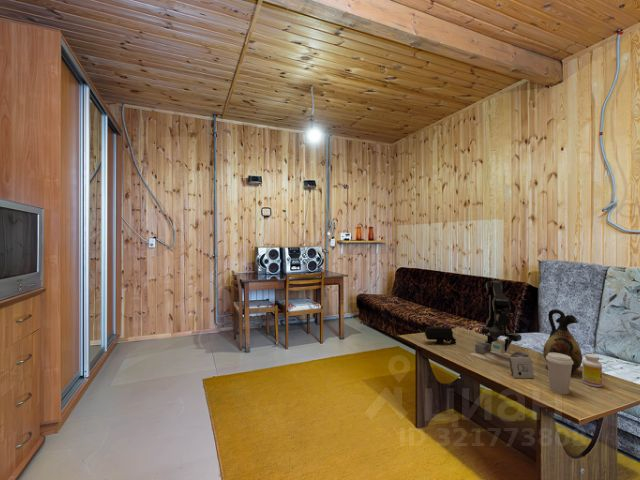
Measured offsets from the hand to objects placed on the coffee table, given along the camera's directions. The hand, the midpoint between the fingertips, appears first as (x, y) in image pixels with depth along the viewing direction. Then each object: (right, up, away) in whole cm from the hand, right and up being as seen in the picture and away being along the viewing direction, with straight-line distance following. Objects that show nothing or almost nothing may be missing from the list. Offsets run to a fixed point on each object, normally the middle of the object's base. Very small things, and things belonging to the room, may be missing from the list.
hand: (500, 349), depth 169 cm
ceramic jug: (+22, -5, -14) cm, 27 cm away
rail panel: (0, -5, 0) cm, 5 cm away
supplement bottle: (+24, -5, -30) cm, 39 cm away
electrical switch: (-3, -5, -22) cm, 23 cm away
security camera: (-23, -5, +25) cm, 35 cm away
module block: (0, -1, 0) cm, 1 cm away
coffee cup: (+4, -5, -36) cm, 37 cm away
